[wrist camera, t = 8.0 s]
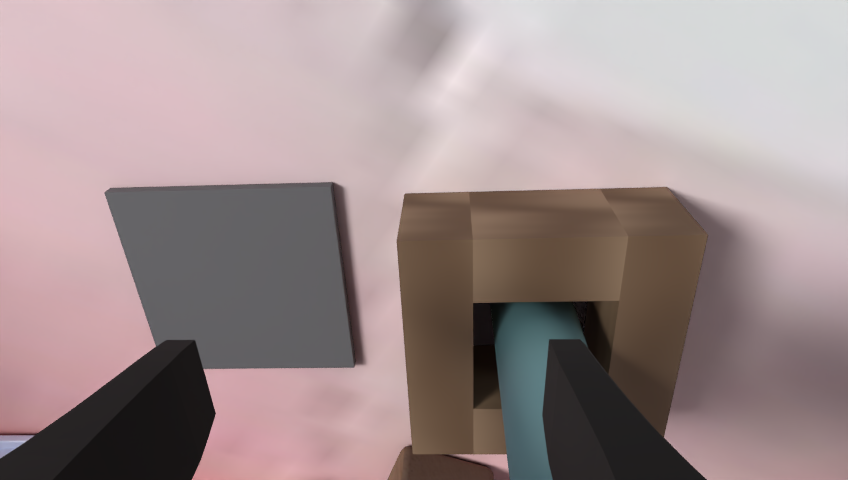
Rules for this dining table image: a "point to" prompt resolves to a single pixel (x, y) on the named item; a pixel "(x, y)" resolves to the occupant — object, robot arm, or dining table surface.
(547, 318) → the peg
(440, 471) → the wooden block
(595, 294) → the hole block
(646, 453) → the robot arm
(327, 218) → the mat
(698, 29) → the dining table surface
